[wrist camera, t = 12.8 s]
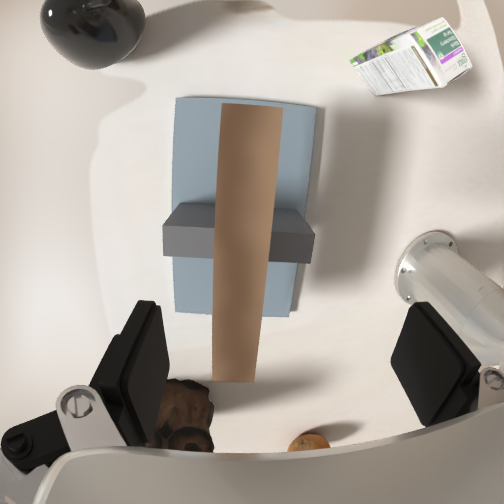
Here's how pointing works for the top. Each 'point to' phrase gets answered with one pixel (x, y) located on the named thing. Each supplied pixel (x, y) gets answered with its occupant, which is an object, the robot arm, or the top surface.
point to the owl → (184, 418)
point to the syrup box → (414, 60)
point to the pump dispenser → (93, 30)
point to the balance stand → (204, 199)
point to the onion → (308, 443)
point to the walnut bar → (242, 234)
